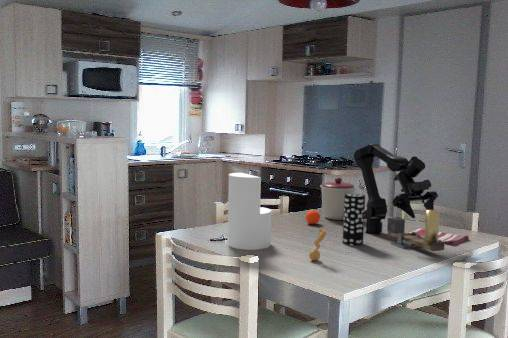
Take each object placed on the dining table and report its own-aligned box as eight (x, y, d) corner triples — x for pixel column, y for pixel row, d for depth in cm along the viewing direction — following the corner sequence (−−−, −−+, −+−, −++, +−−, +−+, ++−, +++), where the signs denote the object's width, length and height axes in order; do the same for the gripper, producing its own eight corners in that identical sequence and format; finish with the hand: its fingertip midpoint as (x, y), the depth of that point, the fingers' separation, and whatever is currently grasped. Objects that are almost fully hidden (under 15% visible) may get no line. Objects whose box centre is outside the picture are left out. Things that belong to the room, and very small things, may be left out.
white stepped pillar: (239, 251, 196) (240, 178, 193) (220, 241, 212) (221, 173, 209) (278, 247, 204) (280, 176, 201) (258, 237, 219) (259, 171, 217)
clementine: (301, 224, 247) (301, 210, 246) (305, 222, 253) (306, 207, 253) (317, 226, 244) (318, 211, 243) (321, 223, 251) (322, 209, 250)
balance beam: (386, 234, 220) (387, 217, 219) (396, 233, 222) (397, 217, 221) (433, 251, 193) (434, 232, 192) (444, 250, 195) (445, 231, 194)
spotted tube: (364, 242, 216) (366, 194, 213) (361, 246, 208) (363, 197, 206) (344, 240, 218) (346, 193, 216) (340, 244, 210) (342, 195, 208)
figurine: (313, 257, 191) (314, 225, 190) (329, 259, 188) (330, 227, 187) (304, 262, 184) (306, 229, 182) (320, 265, 181) (322, 231, 179)
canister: (315, 214, 273) (316, 175, 270) (348, 214, 275) (350, 175, 272) (323, 221, 255) (325, 179, 252) (359, 221, 257) (361, 179, 254)
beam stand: (390, 243, 213) (391, 231, 213) (411, 242, 217) (411, 230, 216) (403, 248, 206) (403, 235, 205) (423, 246, 209) (424, 234, 209)
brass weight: (425, 245, 196) (427, 211, 194) (422, 242, 201) (424, 208, 199) (439, 245, 195) (441, 211, 194) (436, 242, 200) (438, 209, 199)
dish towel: (454, 247, 212) (454, 241, 212) (400, 237, 228) (401, 231, 228) (469, 240, 225) (469, 234, 224) (417, 231, 240) (418, 226, 240)
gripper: (398, 173, 202) (415, 208, 194) (437, 171, 209) (454, 204, 201) (385, 189, 211) (400, 222, 202) (422, 186, 217) (438, 219, 209)
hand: (423, 217), depth 203 cm, fingers open, 9 cm apart
